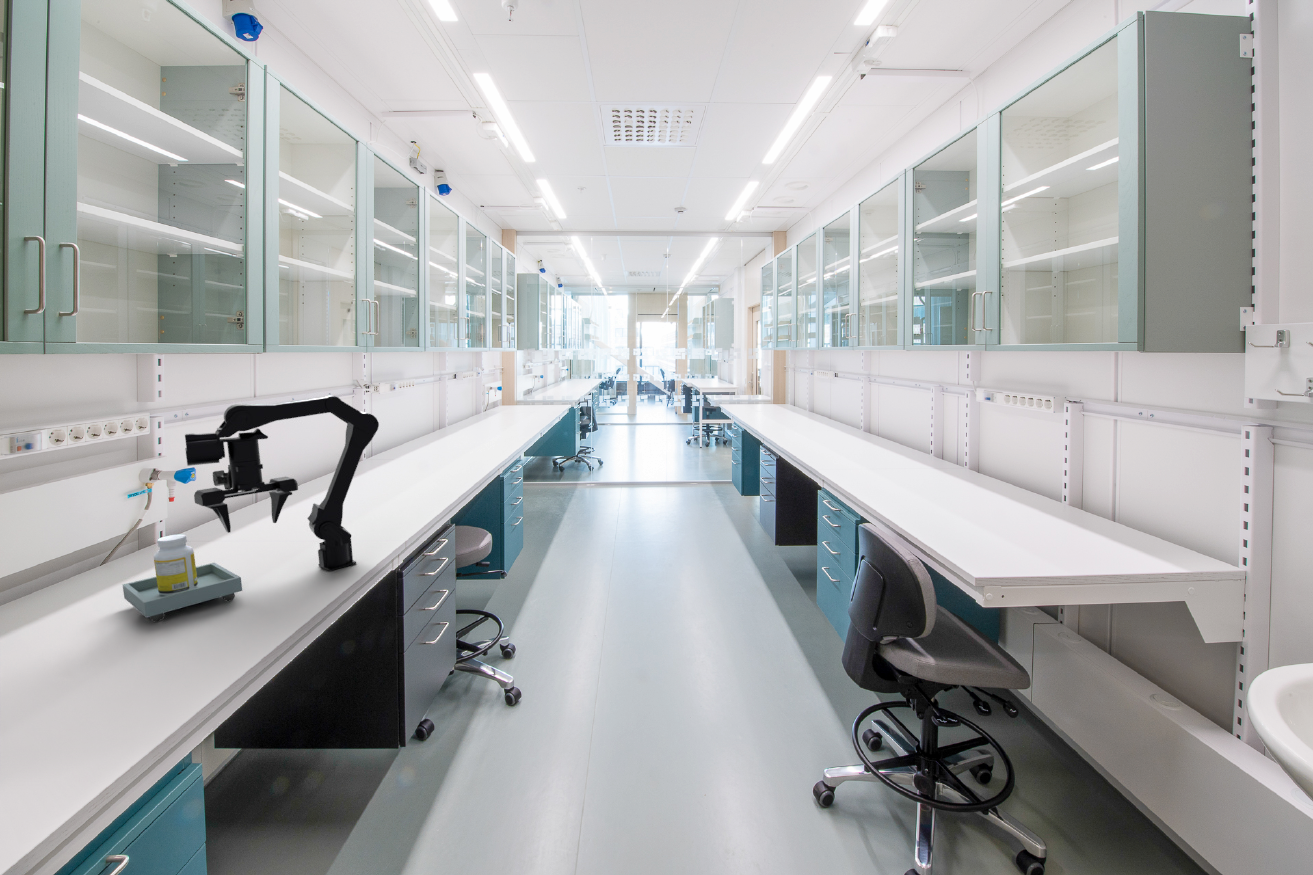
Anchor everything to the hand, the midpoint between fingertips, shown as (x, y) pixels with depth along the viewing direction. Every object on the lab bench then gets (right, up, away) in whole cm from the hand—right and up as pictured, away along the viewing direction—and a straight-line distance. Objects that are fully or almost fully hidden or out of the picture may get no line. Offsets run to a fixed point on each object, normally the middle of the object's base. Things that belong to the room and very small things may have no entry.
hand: (252, 527), depth 135 cm
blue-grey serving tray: (-7, -15, -10) cm, 19 cm away
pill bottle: (-8, -12, -11) cm, 18 cm away
